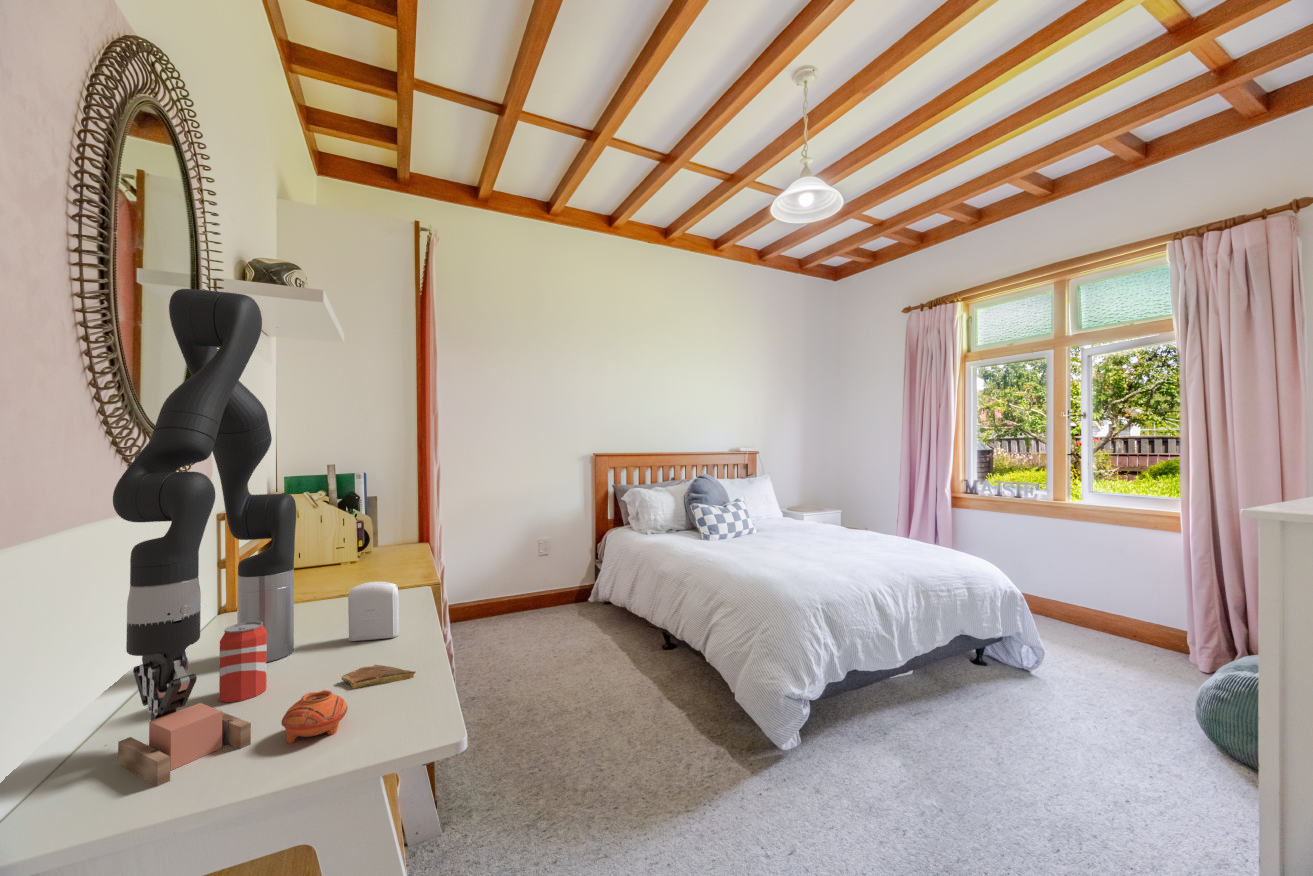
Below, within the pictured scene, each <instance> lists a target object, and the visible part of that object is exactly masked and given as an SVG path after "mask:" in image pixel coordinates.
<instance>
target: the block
mask: <svg viewBox="0 0 1313 876" xmlns="http://www.w3.org/2000/svg"><path fill="white" fill-rule="evenodd" d="M222 712H223V711H222V710H220V709H217V708H214V707H213V706H209V705H207V704H205V703H202V702H199V703H196V704H193V705H191V706H188V707H185V708H182V709H179V710H176V712H174V713H171V714H168V715H165V716H163V717H160V718H157V719H154V720H152V721H151V720H150V721H148V723H149V724H148V727H149V729H148V733H149V734H148V740H149V741H148V746H150V747H152V748H154V749H159V748H160V749H161V752H162V753H164V754H166V755H168V756H170V772H171V771H173V770H175V769H177V768H180V767H183V766H185V765H186V764H189V763H191V762H194V761H196V760H198V759H201V758H203V757H205V756H207V755H210V754H213V753H214V752H216V751H219V750H220V749H223V741H222Z"/></svg>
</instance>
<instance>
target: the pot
mask: <svg viewBox="0 0 1313 876" xmlns="http://www.w3.org/2000/svg"><path fill="white" fill-rule="evenodd" d="M348 709H349V707H348V704H347V702H346V701H345V699H344V698H343V697H341V696H339V695H336V694H334V693H333V691H330V690H325V689H324V690H320V691H312V692H307V693H306V694H304V695H303V696H302V697H301V698H300V699H299V700H297V701H296V702H294V703H293V704H292V705H291V706H290V707H289V709H287V711H286V712H285V713H284V715H283V717H282V719H281V721H280V723H281V726H282V727H283V728H284V729H285V735H286V736H285V737H286V742H287V744H293V743H294V742H295V741H296V739H297V738H298V737H302V738H303V737H304V738H306V737H307V738H308V737H315V736H318V735H322V734H324V733H328V736H332V735H336V733H337V731H338V728H339V724H340V721H342V720H343V718H344V717H345V715H346V714H347V713H348Z"/></svg>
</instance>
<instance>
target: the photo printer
mask: <svg viewBox="0 0 1313 876" xmlns="http://www.w3.org/2000/svg"><path fill="white" fill-rule="evenodd" d="M348 592H349V593H348V597H347V598H348V600H347V602H348V604H347V605H348V606H347V607H348V610H347V611H348V613H347V614H348V640H349V641H350V642H356V641H357V642H359V641H370V640H371V641H372V640H381V639H382V640H383V639H392V638H396V637H397V636H399V634H400V619H399V617H400V616H399V615H400V613H399V611H400V610H399V609H400V608H399V587H398V584H395V583H393V582H387V581H369V582H364V583H361V584H358V585H355V586H353V587H352V588H350V589H349V591H348ZM349 641H348V642H349Z"/></svg>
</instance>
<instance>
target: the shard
mask: <svg viewBox="0 0 1313 876" xmlns="http://www.w3.org/2000/svg"><path fill="white" fill-rule="evenodd" d="M416 673H417V672H416V670H415V671H413V670H412V671H411V670H407V669H402V668H398V667H393V666H388V665H387V666H386V665H381V664H373V665H367V666H363V667H360V668H358V669H356V670H353V671H351V672H348V673H345V674H343V675H341V678H340V679H341V681H343V682H345V683H347V684H350V686H351V689H352V690H355V689H359V688H363V687H368V686H373V685H374V686H376V685H379V684H380V685H381V684H387V683H392V682H398V681H403V680H407V679H412V678H414V675H415V674H416Z"/></svg>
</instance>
